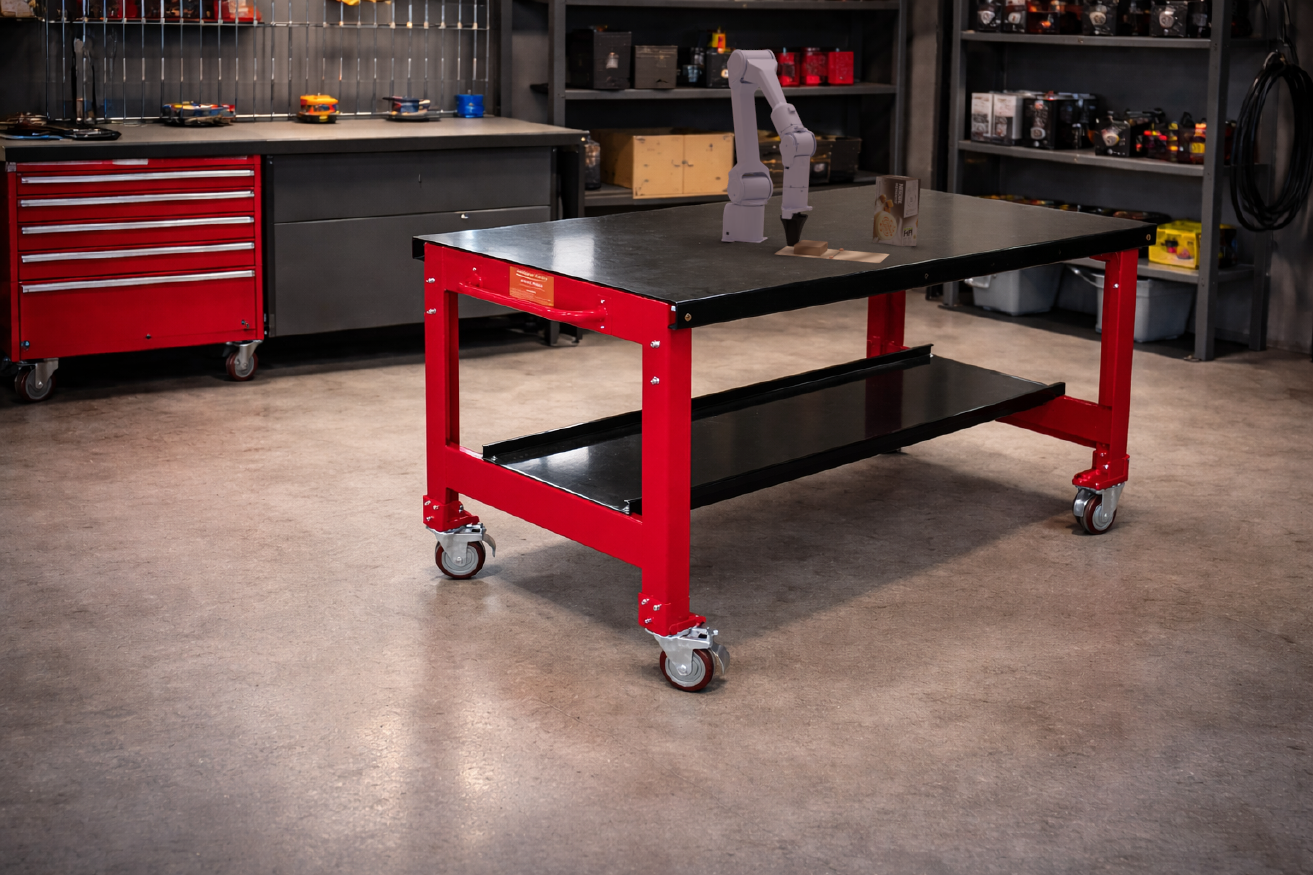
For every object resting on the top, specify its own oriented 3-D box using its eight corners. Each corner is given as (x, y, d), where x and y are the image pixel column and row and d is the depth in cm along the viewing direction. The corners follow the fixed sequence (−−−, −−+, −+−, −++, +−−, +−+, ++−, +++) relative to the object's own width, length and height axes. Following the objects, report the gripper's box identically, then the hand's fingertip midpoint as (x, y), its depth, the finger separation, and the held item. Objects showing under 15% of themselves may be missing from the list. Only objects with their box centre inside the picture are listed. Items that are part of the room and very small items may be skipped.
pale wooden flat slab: (773, 256, 307) (774, 252, 307) (787, 248, 318) (787, 244, 318) (879, 265, 300) (879, 261, 300) (889, 256, 311) (889, 252, 310)
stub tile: (793, 254, 308) (794, 245, 307) (801, 248, 315) (802, 239, 314) (819, 256, 306) (820, 247, 305) (827, 250, 313) (827, 241, 312)
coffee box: (917, 246, 326) (923, 178, 321) (901, 248, 321) (907, 180, 316) (886, 240, 332) (891, 174, 327) (870, 243, 328) (875, 176, 323)
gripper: (805, 191, 299) (801, 252, 304) (820, 183, 312) (816, 242, 317) (774, 189, 302) (771, 250, 306) (790, 181, 315) (787, 240, 319)
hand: (792, 246), depth 311 cm, fingers closed
